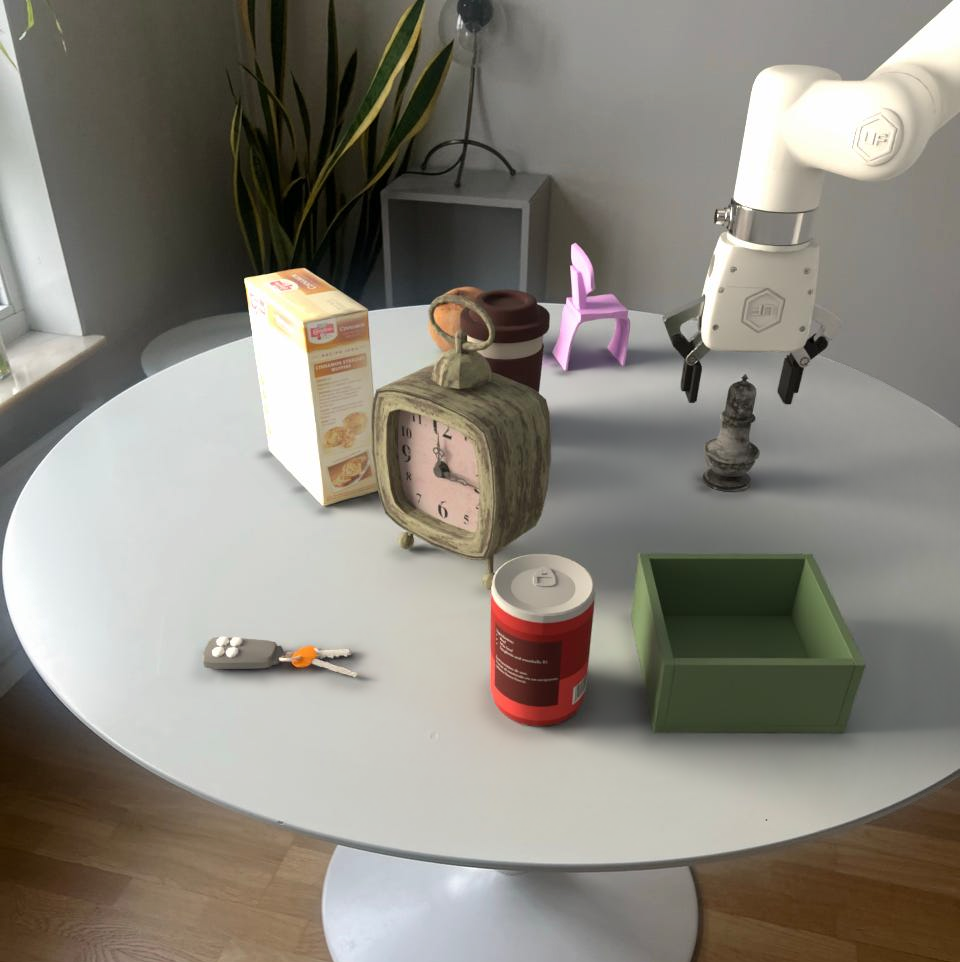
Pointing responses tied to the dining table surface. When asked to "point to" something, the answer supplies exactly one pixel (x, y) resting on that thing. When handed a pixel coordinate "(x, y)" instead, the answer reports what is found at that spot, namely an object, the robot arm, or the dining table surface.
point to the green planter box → (742, 644)
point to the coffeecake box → (315, 381)
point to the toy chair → (589, 311)
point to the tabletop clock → (461, 450)
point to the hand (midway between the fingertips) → (737, 398)
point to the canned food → (540, 637)
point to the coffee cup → (510, 334)
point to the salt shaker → (733, 442)
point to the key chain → (265, 655)
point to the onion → (451, 316)
